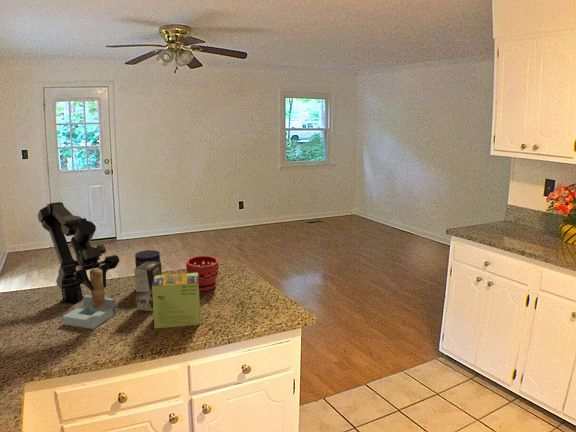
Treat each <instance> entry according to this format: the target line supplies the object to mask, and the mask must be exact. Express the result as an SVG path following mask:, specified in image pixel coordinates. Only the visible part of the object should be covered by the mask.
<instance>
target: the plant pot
mask: <svg viewBox="0 0 576 432" xmlns="http://www.w3.org/2000/svg"><path fill="white" fill-rule="evenodd" d="M203 262H204V263H203ZM185 264H186V265H185V267H186V273H198V280H199V292H206V291H210V290H212V289H214V288H215V287H216V286H217V283H218V282H217V278H218V274H219V260H218V258H217V257H215V256H212V255H211V256H210V255H198V256H192V257H189V258H188V259H187V260H186V263H185Z"/></svg>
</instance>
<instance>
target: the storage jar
mask: <svg viewBox="0 0 576 432" xmlns="http://www.w3.org/2000/svg"><path fill="white" fill-rule="evenodd" d="M134 257H135V260H134V261H135V262H134V263H135V268H137V267H138V266H140V265H142V264H143V263H145V262H146V261H147V262H161V253H160V251H157V250H154V249H153V250H152V249H151V250H150V249H149V250H141V251H138V252H136V253H135V254H134Z"/></svg>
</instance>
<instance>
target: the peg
mask: <svg viewBox="0 0 576 432" xmlns="http://www.w3.org/2000/svg"><path fill="white" fill-rule="evenodd" d="M88 273H89V280H90V282H91V284H92V287H93V291H91V290H90V295H92V306H93V309H101V308H104V307H105V297H106V296H105V288H104V285H103V273H102V270H101V269H98V268H95V269H91V270H89V272H88Z"/></svg>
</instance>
